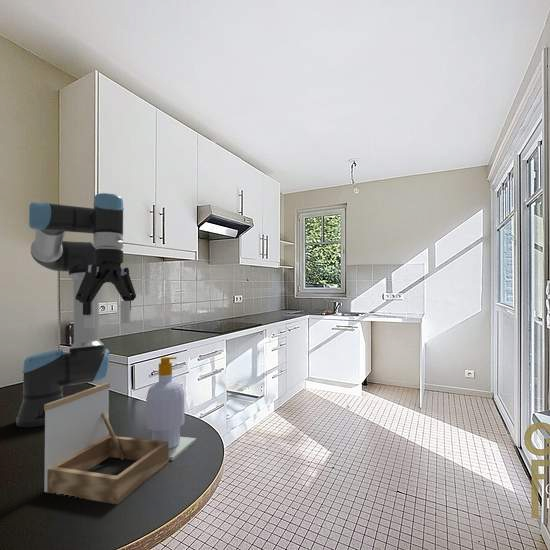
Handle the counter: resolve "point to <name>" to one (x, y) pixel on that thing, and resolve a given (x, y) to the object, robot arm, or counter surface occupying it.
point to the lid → (74, 424)
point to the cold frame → (104, 487)
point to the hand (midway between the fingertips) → (108, 325)
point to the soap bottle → (165, 406)
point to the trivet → (180, 447)
